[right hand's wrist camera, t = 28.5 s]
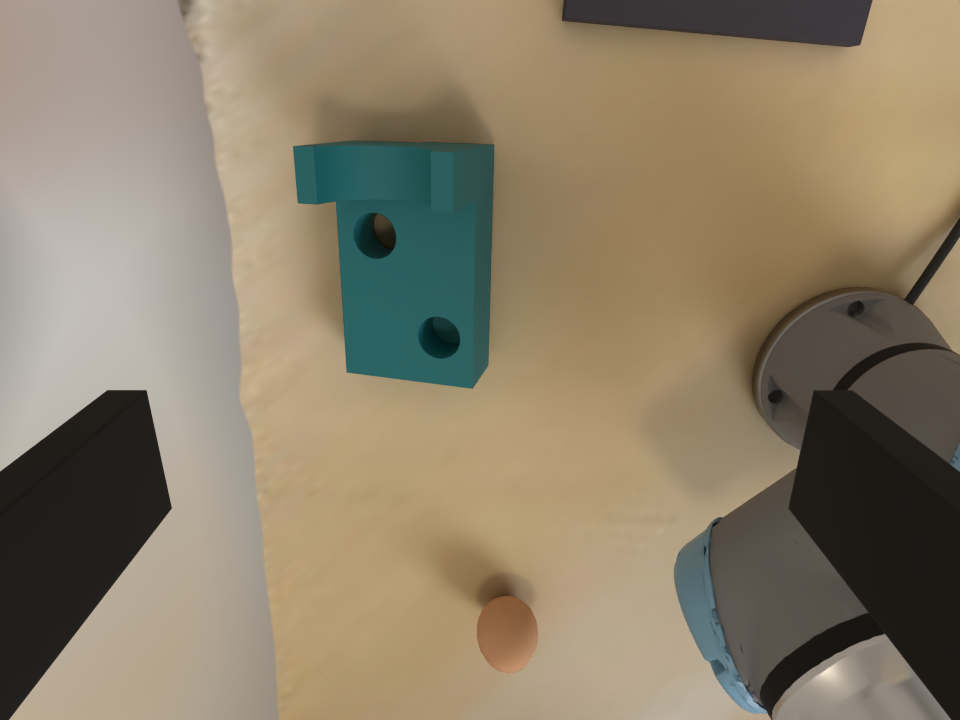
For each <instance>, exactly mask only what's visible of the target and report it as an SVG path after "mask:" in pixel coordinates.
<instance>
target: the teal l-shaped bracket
mask: <svg viewBox="0 0 960 720" xmlns="http://www.w3.org/2000/svg"><path fill="white" fill-rule="evenodd" d="M293 150H294V162H295V174H296V186H297V197H298V203H302V204H322V203H327V202H335V201H336V209H337V225H338V241H339V257H340V272H341V288H342V304H343V320H344V336H345V352H346V368H347V372H348V373H355V374H363V375H371V376H379V377H387V378H394V379H402V380H410V381H418V382H425V383H433V384H441V385H449V386H457V387H464V388H472V389H473V387H474V386H475V384H476V383H477V381H478V380H479V378H480V377H481V375H482V374H483V372H484V371H485V370H486V368H487V367H488V357H489V319H490V282H491V245H492V208H493V171H494V144H465V143H437V142H424V143H407V142H379V141H344V142H334V143H323V144H312V145H301V146H293ZM377 213H378V214H381V215H383V216H384V217H386V218H387V219H388V220H389V221H390V222H391V223H392V225H393V227H394V229H395V233H396V244H395V247H394V249H389V248H386V247H384V246H383V245H382V244H381V243H380V242H379V241H378V240H377V238H376V237H375V234H374V231H373V221H374V218H375V216H376V214H377Z"/></svg>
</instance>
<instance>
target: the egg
mask: <svg viewBox="0 0 960 720" xmlns="http://www.w3.org/2000/svg"><path fill="white" fill-rule="evenodd" d="M537 638H538V630H537V623H536V619H535V617H534V615H533V613H532V611H531V609H530V608H529V607H528V606H527V605H526V604H525V603H524V602H523V601H522V600H520V599H518V598H516V597H512V596H501V597H497V598H495V599H493V600H492V601H490V602H489V603H488V604H487V605H486V606H485V607H484V609H483V610H482V612H481V614H480V616H479V619H478V624H477V639H478V644H479V647H480V650H481V652H482V654H483V656H484V657H485V659H486V660H487V662H488V663H489V664H490V665H491V666H492V667H493V668H495V669H496V670H498V671H500V672H505V673H513V672H516V671H519V670H521V669H522V668H523V667H525V665H526V664H527V663H528V662H529V661H530V659H531V657H532V655H533V653H534V651H535V649H536V646H537Z"/></svg>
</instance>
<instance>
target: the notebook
mask: <svg viewBox="0 0 960 720" xmlns="http://www.w3.org/2000/svg"><path fill="white" fill-rule="evenodd" d="M871 3H872V0H564V8H563V16H562V21H570V22H581V23H592V24H603V25H614V26H625V27H636V28H647V29H658V30H669V31H679V32H690V33H701V34H712V35H723V36H734V37H745V38H756V39H767V40H778V41H789V42H800V43H810V44H821V45H832V46H843V47H851V46H857V45H860V44H861V40H862V36H863V33H864V29H865V25H866V22H867V18H868V14H869V11H870V7H871Z"/></svg>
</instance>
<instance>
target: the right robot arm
mask: <svg viewBox="0 0 960 720" xmlns="http://www.w3.org/2000/svg"><path fill="white" fill-rule="evenodd" d="M959 237H960V218H959V220H958V221H957V223H956V224H955V226H954V227H953V229H952V230H951V232H950V233H949V235H948V236H947V238H946V239H945V241H944V242H943V244H942V245H941V247H940V248H939V250H938V251H937V253H936V254H935V256H934V257H933V259H932V260H931V262H930V263H929V265H928V266H927V267H926V269H925V270H924V272H923V273H922V275H921V276H920V278H919V279H918V281H917V282H916V283H915V285H914V286H913V288H912V289H911V291H910V292H909V294H908V295H907V296H906V298H905V299H904V300H903V299H901V298H899V297H897V296H895V295H893V294H890V293H887V292H885V291H881V290H877V289H871V288H846V289H839V290H835V291H831V292H828V293H825V294H822V295H820V296H817V297H815V298H813V299H811V300H809V301H807V302H805V303H804V304H802V305H800V306H799V307H797V308H796V309H795V310H793V311H792V312H791V313H789V314H788V315H787V316H786V317H785V318H784V319H783V320H782V321H781V322H780V323H779V324H778V325H777V326H776V327H775V328H774V329H773V331H772V332H771V333H770V335H769V336H768V338H767V339H766V341H765V342H764V344H763V346H762V348H761V350H760V352H759V355H758V357H757V360H756V363H755V368H754V373H753V394H754V399H755V403H756V405H757V408H758V410H759V412H760V414H761V416H762V417H763V419H764V420H765V422H766V423H767V424H768V425H769V426H770V427H771V428H772V430H773V431H774V432H775V433H776V434H777V435H778V436H779V437H780V438H781V439H783V440H784V441H785V442H787V443H788V444H790V445H792V446H793V447H795V448H797V449H799V450H801V451H800V456H799V461H798V465H797V468H796V469H794V470H793V471H791V472H790V473H788V474H787V475H786V476H784V477H783V478H781V479H780V480H778V481H777V482H775V483H774V484H772V485H771V486H769V487H768V488H766V489H765V490H763V491H762V492H760V493H759V494H757V495H756V496H754V497H753V498H751V499H750V500H748V501H747V502H745V503H744V504H743V505H741V506H740V507H738V508H737V509H735V510H734V511H732V512H731V513H729V514H728V515H726V516H725V517H723V518H721V517H719V518H717V519H715V520H713V521H712V522H711V523H710V525H709V526H708V528H707V529H706V530H705V531H703V532H702V533H701V534H699V535H698V536H697V537H695V538H694V539H693V540H691V541H690V542H689V543H687V544H686V545H685V546H684V547H683V548H682V549H681V550H680V552H679V553H678V556H677V560H676V563H675V566H674V581H675V587H676V592H677V596H678V600H679V603H680V606H681V609H682V612H683V615H684V617H685V620H686V622H687V625H688V627H689V629H690V631H691V634H692V636H693V638H694V640H695V642H696V644H697V646H698V648H699V650H700V652H701V654H702V656H703V657H704V658H705V660H707V661H709V662H710V663H711V667H712V669H713V672H714V674H715V677H716V678H717V680H718V681H719V683H720V684H721V686H722V687H723V688H724V690H725V691H726V692H727V693H728V695H729V696H730V697H731V698H732V699H733V700H734V701H735V702H736V703H737V704H738V705H739V706H740V707H741V708H743V709H744V710H746V711H749V712H751V713H753V714H758V713H761V714H766V713H768V715H769V716H770V718H771V720H960V355H959V354H957V353H955V352H953V351H952V350H951V348H950V347H949V346H948V344H947V343H946V341H945V340H944V339H943V337H942V336H941V334H940V333H939V332H938V330H937V329H936V328H935V326H934V325H933V323H932V322H931V321H930V320H929V318H928V317H927V316H926V315H925V314H924V313H923V312H922V311H920V310H919V309H918V308H917V307H916V306H914V305H913V304H914V303H915V301H916V300H917V298H918V297H919V296H920V294H921V293H922V291H923V290H924V288H925V287H926V285H927V284H928V283H929V281H930V280H931V278H932V277H933V275H934V274H935V272H936V271H937V270H938V268H939V267H940V265H941V264H942V262H943V261H944V259H945V258H946V256H947V255H948V253H949V252H950V251H951V249H952V248H953V246H954V245H955V243H956V242H957V240H958V239H959ZM171 509H172V507H171V502H170V498H169V493H168V489H167V484H166V479H165V475H164V470H163V465H162V461H161V456H160V451H159V447H158V442H157V437H156V433H155V428H154V423H153V419H152V414H151V409H150V405H149V400H148V395H147V391H146V390H107V391H106V392H105V393H103V394H102V395H101V396H99V397H98V398H97V399H95V400H94V401H93V402H91V403H90V404H89V405H87V406H86V407H85V408H84V409H82V410H81V411H80V412H78V413H77V414H76V415H74V416H73V417H72V418H70V419H69V420H68V421H66V422H65V423H64V424H62V425H61V426H60V427H58V428H57V429H56V430H54V431H53V432H52V433H51V434H49V435H48V436H47V437H45V438H44V439H43V440H41V441H40V442H39V443H37V444H36V445H35V446H33V447H32V448H31V449H29V450H28V451H27V452H25V453H24V454H23V455H21V456H20V457H19V458H18V459H16V460H15V461H14V462H12V463H11V464H10V465H8V466H7V467H6V468H4V469H3V470H2V471H0V720H9V719H10V718H11V716H12V715H13V714H14V712H15V711H16V710H17V709H18V707H19V706H20V705H21V703H22V702H23V701H24V700H25V698H26V697H27V696H28V694H29V693H30V692H31V690H32V689H33V688H34V687H35V685H36V684H37V683H38V681H39V680H40V679H41V677H42V676H43V675H44V674H45V672H46V671H47V670H48V668H49V667H50V666H51V664H52V663H53V662H54V661H55V659H56V658H57V657H58V655H59V654H60V653H61V651H62V650H63V649H64V648H65V646H66V645H67V644H68V642H69V641H70V640H71V638H72V637H73V636H74V635H75V633H76V632H77V631H78V629H79V628H80V627H81V626H82V624H83V623H84V622H85V620H86V619H87V618H88V616H89V615H90V614H91V613H92V611H93V610H94V609H95V607H96V606H97V605H98V603H99V602H100V601H101V600H102V598H103V597H104V596H105V594H106V593H107V592H108V590H109V589H110V588H111V586H112V585H113V584H114V583H115V581H116V580H117V579H118V577H119V576H120V575H121V573H122V572H123V571H124V570H125V568H126V567H127V566H128V564H129V563H130V562H131V561H132V559H133V558H134V557H135V555H136V554H137V553H138V551H139V550H140V549H141V548H142V546H143V545H144V544H145V542H146V541H147V540H148V538H149V537H150V536H151V535H152V533H153V532H154V531H155V529H156V528H157V527H158V526H159V524H160V523H161V522H162V520H163V519H164V518H165V516H166V515H167V514H168V513H169V511H170V510H171Z"/></svg>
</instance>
